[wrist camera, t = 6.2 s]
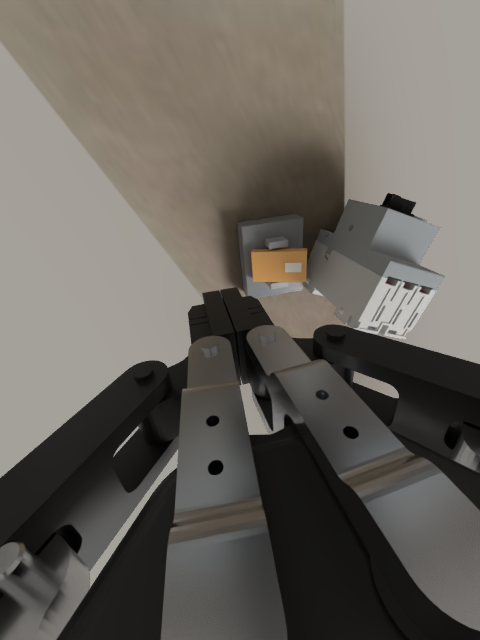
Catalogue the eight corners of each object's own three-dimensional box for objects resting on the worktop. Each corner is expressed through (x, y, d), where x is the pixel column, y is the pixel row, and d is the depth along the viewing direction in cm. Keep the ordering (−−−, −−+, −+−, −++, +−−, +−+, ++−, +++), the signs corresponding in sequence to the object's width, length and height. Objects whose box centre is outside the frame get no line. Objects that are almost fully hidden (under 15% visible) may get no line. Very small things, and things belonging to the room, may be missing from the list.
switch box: (236, 222, 37) (245, 230, 33) (294, 213, 38) (310, 220, 34) (243, 291, 42) (251, 306, 38) (294, 282, 43) (307, 295, 39)
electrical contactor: (383, 199, 40) (482, 217, 27) (339, 290, 46) (404, 341, 33) (339, 182, 38) (426, 194, 25) (299, 281, 44) (352, 331, 31)
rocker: (253, 248, 37) (250, 252, 35) (307, 246, 35) (306, 251, 34) (255, 276, 39) (253, 282, 37) (306, 276, 37) (306, 282, 36)
